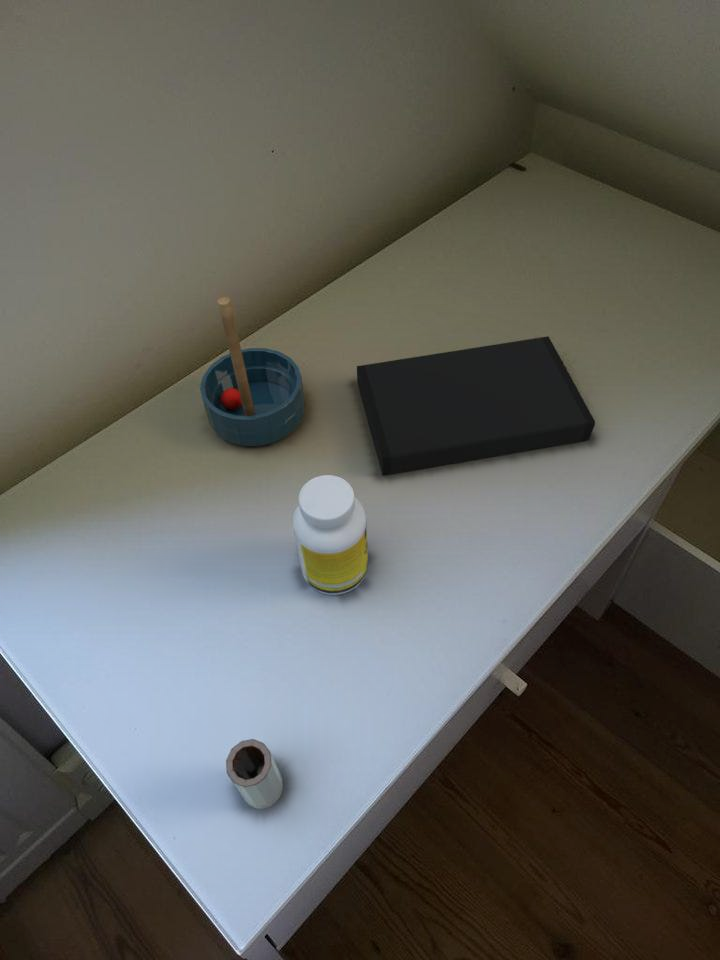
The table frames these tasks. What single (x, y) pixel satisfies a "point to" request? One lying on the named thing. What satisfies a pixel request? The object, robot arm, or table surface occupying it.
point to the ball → (231, 398)
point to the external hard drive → (471, 404)
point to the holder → (254, 773)
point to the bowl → (255, 397)
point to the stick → (236, 354)
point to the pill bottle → (331, 535)
